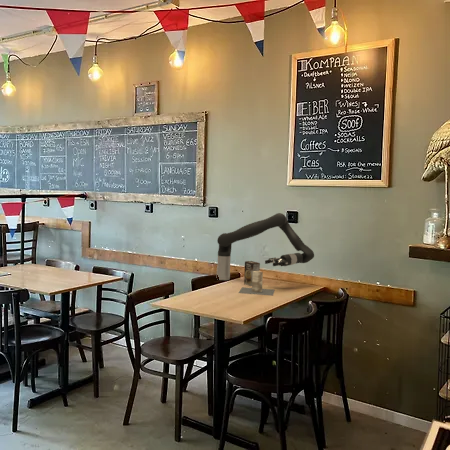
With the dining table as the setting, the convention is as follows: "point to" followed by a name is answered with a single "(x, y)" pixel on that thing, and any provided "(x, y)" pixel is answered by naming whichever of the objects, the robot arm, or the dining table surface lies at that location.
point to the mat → (264, 292)
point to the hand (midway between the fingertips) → (269, 263)
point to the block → (257, 281)
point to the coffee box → (250, 271)
